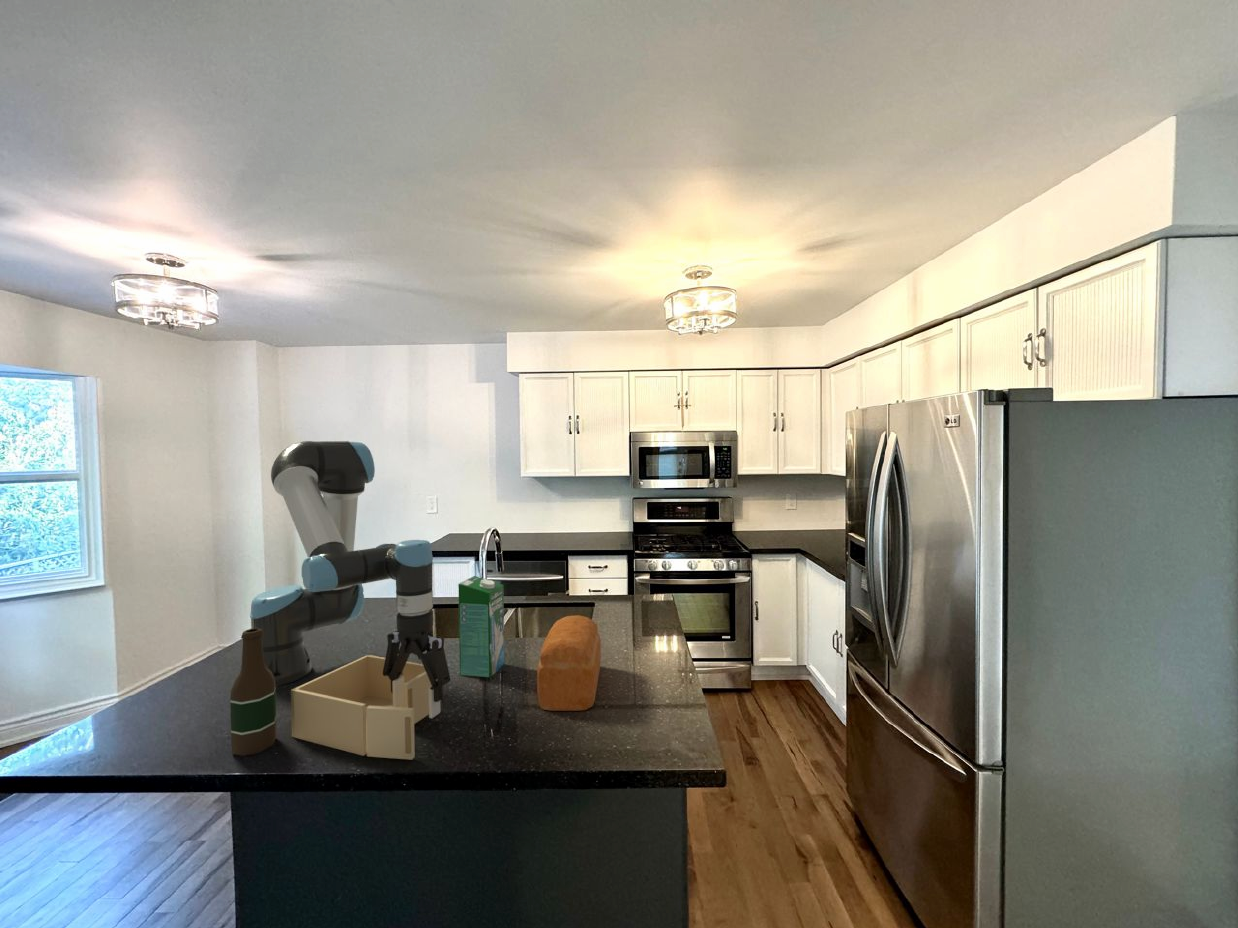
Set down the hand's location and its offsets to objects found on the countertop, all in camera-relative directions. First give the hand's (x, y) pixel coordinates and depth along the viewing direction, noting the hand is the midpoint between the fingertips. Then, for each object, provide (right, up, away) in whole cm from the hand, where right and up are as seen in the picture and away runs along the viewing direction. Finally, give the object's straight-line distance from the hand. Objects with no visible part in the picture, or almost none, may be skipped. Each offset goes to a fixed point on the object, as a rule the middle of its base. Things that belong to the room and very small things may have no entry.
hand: (416, 710), depth 112 cm
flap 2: (+1, -2, +1) cm, 3 cm away
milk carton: (+7, -2, +28) cm, 29 cm away
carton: (-12, -3, +1) cm, 12 cm away
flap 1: (0, -2, -13) cm, 14 cm away
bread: (+33, -2, +17) cm, 37 cm away
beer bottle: (-30, -3, -8) cm, 31 cm away
